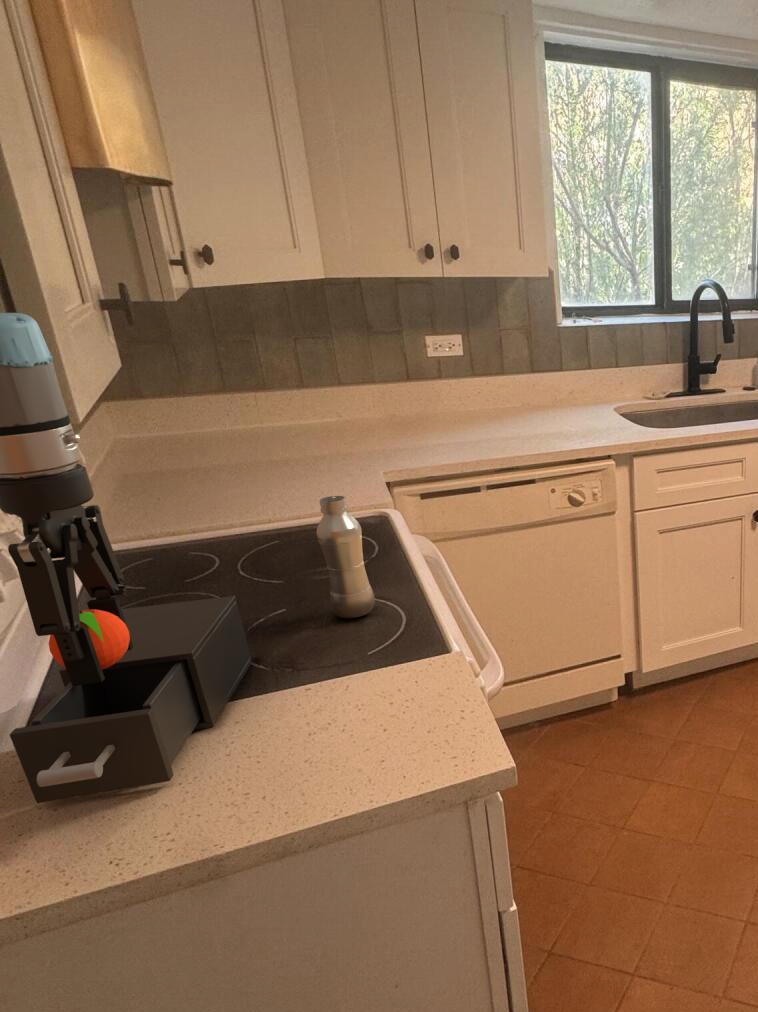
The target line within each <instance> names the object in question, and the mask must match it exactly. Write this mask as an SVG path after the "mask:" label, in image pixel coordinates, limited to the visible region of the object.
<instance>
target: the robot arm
mask: <svg viewBox="0 0 758 1012" xmlns="http://www.w3.org/2000/svg"><path fill="white" fill-rule="evenodd" d="M53 360H54V358H53V354H52V352H50V350H49V347H48V345H47V343H46V340H45V338H44V335H43V333H42V331H41V328H40V325H39V323H38V322H37V321H36V319H34V318H33V317H32V316H30V315H28V314H25V313H21V312H0V511H1V512H3V513H4V514H6V515H11V516H12V515H13V516H16V517H19V518H20V519H21V523H22V534H23V537H24V539H23V540H22V541H21V542H17V543H10V544H9V545H8V546H7V551H8V554H9V556H10V558H11V559H12V561H13V563H14V565H15V566H16V569H17V572H18V576H19V579H20V583H21V586H22V590H23V592H24V596H25V600H26V603H27V607H28V612H29V615H30V617H31V621H32V624H33V628H34V631H35V632H34V633H35V635H37V636H38V637H43V636H50V635H54V637H55V640H56V642H57V645H58V648H59V651H60V654H61V656H62V659H63V662H64V665H65V667H66V670H67V673H68V676H69V679H70V681H71V684H72V686H76V685H84V684H91V683H98V682H102V681H103V680H104V679H105V678H104V675H103V672H102V669H101V666H100V663H99V660H98V657H97V654H96V651H95V648H94V645H93V642H92V640H91V637H90V634H89V631H88V628H87V625H86V626H80V618H79V611H80V610H79V602H78V594H77V586H76V580H75V575H76V576H77V578H78V579H79V581H80V583H81V584H82V586H83V587H84V589H85V591H86V592H87V594H88V596H89V597H90V598H91V599H89V600H88V601H87V602H86V604H87V607H88V610H90V609H94V610H101V611H106V612H109V613H112V614H113V615H115V616H117V617H119V618H120V619H121V620H122V621H123V622H124V623H125V624H126V622H125V618H124V615H123V612H122V609H123V608H122V607H121V603H120V600H119V597H118V596H120V595H126V594H127V586H126V585H123V584H124V583H125V578H124V575H123V572H122V570H121V567H120V564H119V562H118V559H117V557H116V554H115V552H114V549H113V546H112V544H111V541H110V539H109V537H108V533H107V531H106V529H105V525H104V521H103V517H102V511H101V508H100V506H99V505H98V504H93V505H84V504H86V503H89V502H91V500H92V499H93V498H94V495H95V492H94V489H93V486H92V483H91V480H90V477H89V475H88V471H87V468H86V467H85V466H83V465H82V464H80V463H79V462H80V460H82V453H81V451H80V447H79V443H80V442H81V437H80V436H79V434H76V433H75V431H74V429H73V425H72V421H71V419H70V415H69V414H68V411H67V407H66V404H65V401H64V397H63V394H62V390H61V388H60V387H61V386H60V383H59V380H58V376H57V372H56V368H55V365H54V361H53ZM126 626H127V625H126ZM129 636H130V634H129ZM133 647H134V646H133V643H132V640H131V637H130V641H129V646H128V649H127V650H131V649H132V648H133Z"/></svg>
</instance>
